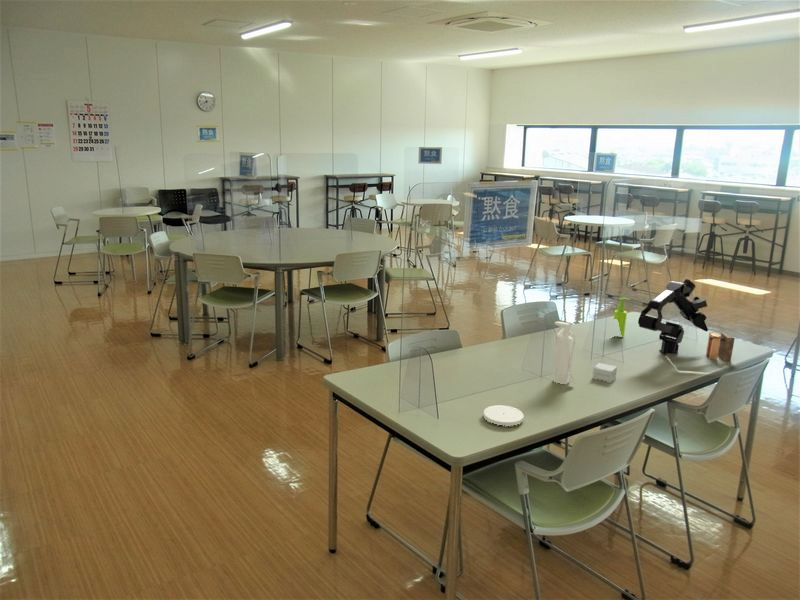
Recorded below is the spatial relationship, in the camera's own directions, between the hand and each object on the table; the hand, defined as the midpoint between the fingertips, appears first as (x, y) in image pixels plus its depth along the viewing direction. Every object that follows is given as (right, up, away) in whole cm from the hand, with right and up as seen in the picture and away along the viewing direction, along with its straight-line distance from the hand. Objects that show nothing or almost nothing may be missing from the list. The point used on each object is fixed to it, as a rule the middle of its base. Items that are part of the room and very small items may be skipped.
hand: (703, 328), depth 291 cm
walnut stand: (+4, -14, -4) cm, 15 cm away
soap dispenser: (-30, -5, +27) cm, 41 cm away
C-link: (+2, -13, -3) cm, 14 cm away
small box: (-56, -20, -29) cm, 66 cm away
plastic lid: (-105, -30, -70) cm, 130 cm away
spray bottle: (-75, -21, -35) cm, 85 cm away
